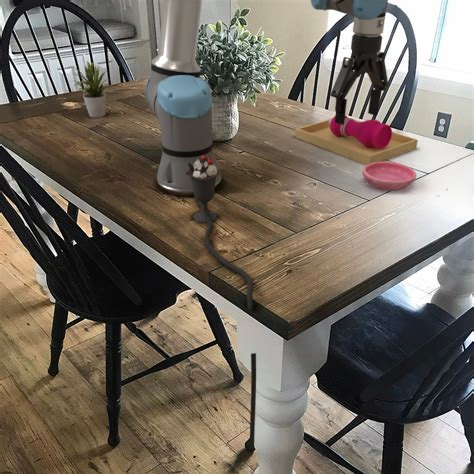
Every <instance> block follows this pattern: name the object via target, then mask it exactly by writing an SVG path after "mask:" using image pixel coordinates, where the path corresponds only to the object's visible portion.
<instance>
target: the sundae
mask: <svg viewBox="0 0 474 474" xmlns="http://www.w3.org/2000/svg"><path fill="white" fill-rule="evenodd" d="M210 150H213V151H214V150H215V148H214V147H213V148H210ZM211 152H212V151H211ZM211 152H210V154H211ZM208 153H209V152H208ZM208 153H207V154H208ZM207 154H206V155H207ZM206 155H203V156H202V158H200V159H198V160H197V161H196V162H195V163H194V167H193V166H192V164H191V163H187V164H188V166H189V168H190V169H189V170H188V172H187V173H186V175H188V176H190V178H191V181H192V186H193V192H194V195H195V196H194V198H195V199H196V200H197V202H198V201H200V202H201V203H202V210H200V211H198V212H196V213H194V215H193V219H194V221H196V222H199V223H207V220H206V217H205V216H206V215H207V214H208V215H209V216H210V218H211V222H213V221H215V220H216V219H217V216H218V215H217V214H216V213H215V212H213V211H209V207H208V203H209V202H210V201H211V200H212V199H213V198H214V196H215V191H216V190H215V182H216V177H217V176H218V175H220V173H221V171H220V172H219V170H220V169H219V170H218V169H217V168H216V167H215V165H214V164H213V160H212V159H211V158H210V159H207V156H206ZM209 157H210V156H209Z"/></svg>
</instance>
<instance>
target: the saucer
mask: <svg viewBox="0 0 474 474" xmlns="http://www.w3.org/2000/svg"><path fill="white" fill-rule="evenodd" d="M361 171H362V175H363V178H364V179H365V180H366V181H367V183H368V184H369V185H370V186H371V187H373V188H375V189H378V190H382V191H388V192H394V191H395V192H396V191H402V190H404V189H406V188H407V187H408V186H411V185H412V183H414V182H415V181H416V179H417V173H416V171H415V170H414V169H413V168H411V167H410V166H408V165H406V164H402V163H398V162H393V161H381V162H374V163H370V164H367V165H366V164H365V166H363V168H362V170H361Z"/></svg>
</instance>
